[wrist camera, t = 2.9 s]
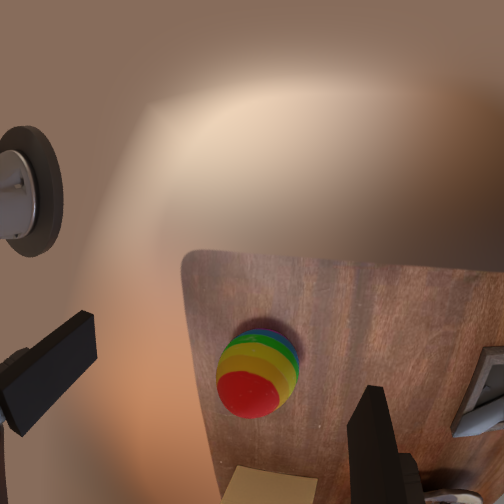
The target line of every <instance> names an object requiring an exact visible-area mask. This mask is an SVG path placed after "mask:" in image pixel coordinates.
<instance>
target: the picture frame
mask: <svg viewBox="0 0 504 504" xmlns="http://www.w3.org/2000/svg"><path fill="white" fill-rule="evenodd" d="M450 428H451V433H452V435H453V436H452V437H464V436H473V435H479V434H481V433H482V432H487V431H494V430H501V429H504V346H500V347H483V349H482V352H481V355H480V358H479V361H478V364H477V366H476V369H475V372H474V374H473V377H472V379H471V382H470V384H469V387H468V389H467V392H466V394H465V396H464V399H463V401H462V403H461V405H460V408H459V410H458V412H457V414H456V416H455V418H454V421H453V423H452V425H451V427H450Z"/></svg>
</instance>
